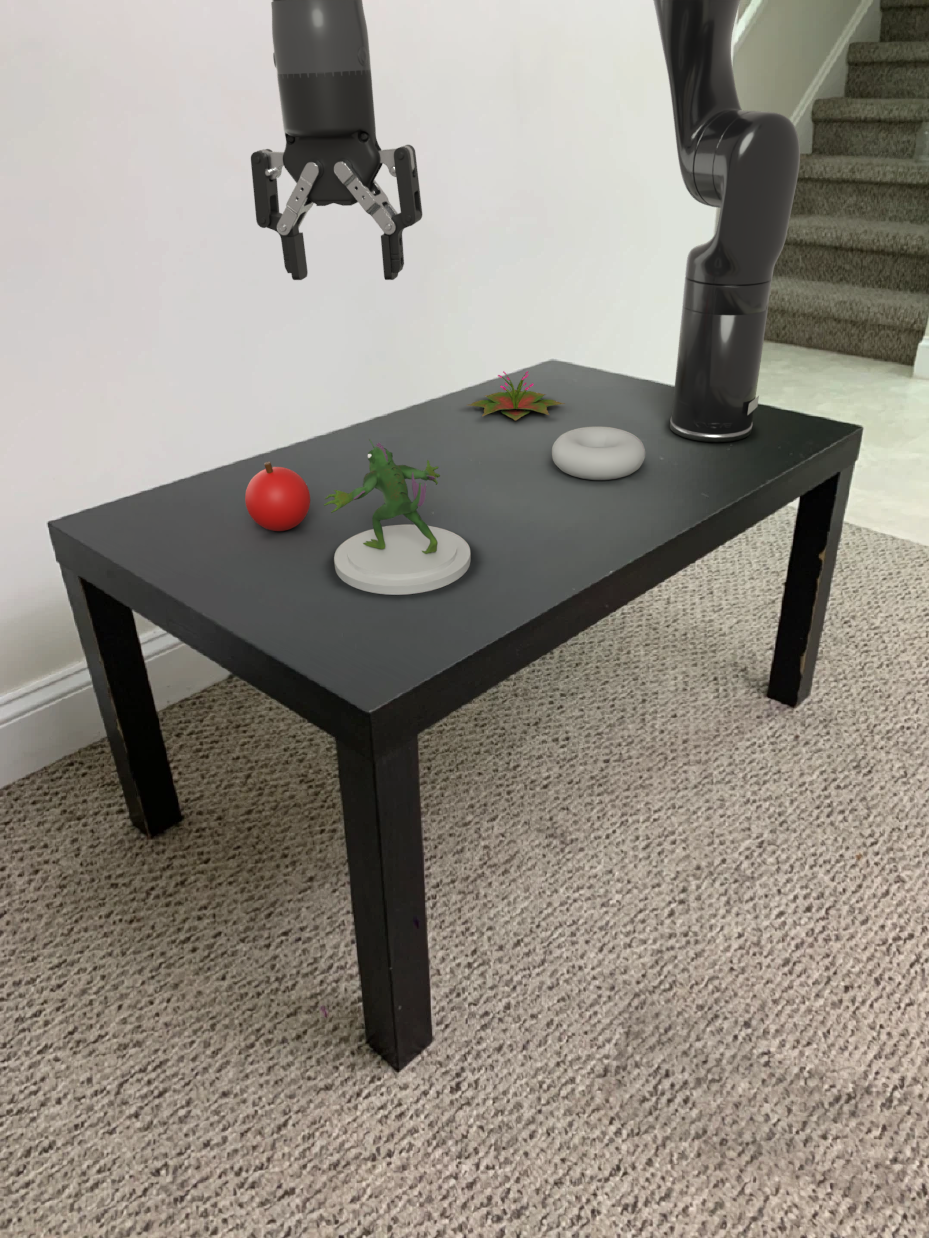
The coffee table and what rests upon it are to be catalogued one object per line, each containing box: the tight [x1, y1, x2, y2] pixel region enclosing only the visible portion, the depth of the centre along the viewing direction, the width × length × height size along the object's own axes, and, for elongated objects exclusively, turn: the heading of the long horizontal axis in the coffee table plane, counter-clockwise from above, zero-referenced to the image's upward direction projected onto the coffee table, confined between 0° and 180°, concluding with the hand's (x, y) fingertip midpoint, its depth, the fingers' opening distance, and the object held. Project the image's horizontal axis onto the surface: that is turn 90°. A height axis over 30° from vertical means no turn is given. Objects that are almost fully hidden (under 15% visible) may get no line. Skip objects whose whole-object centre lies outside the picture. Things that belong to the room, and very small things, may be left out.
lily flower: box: [467, 370, 566, 421], centre depth 118 cm, size 12×12×5 cm
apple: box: [244, 461, 311, 532], centre depth 88 cm, size 6×6×7 cm
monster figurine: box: [323, 438, 472, 596], centre depth 81 cm, size 12×12×10 cm
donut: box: [551, 426, 646, 481], centre depth 101 cm, size 10×4×10 cm
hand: (345, 278), depth 83 cm, fingers open, 8 cm apart
